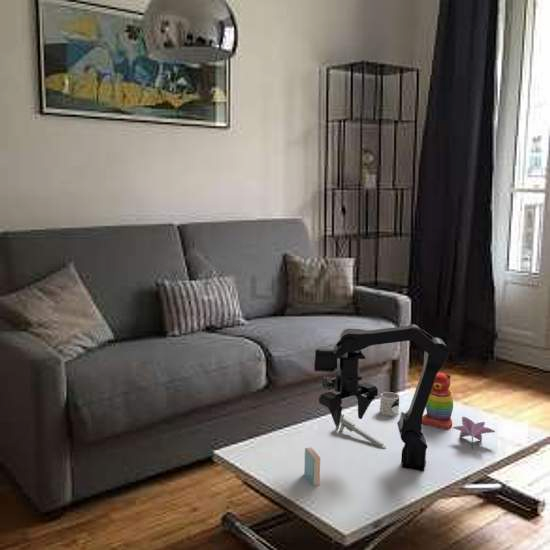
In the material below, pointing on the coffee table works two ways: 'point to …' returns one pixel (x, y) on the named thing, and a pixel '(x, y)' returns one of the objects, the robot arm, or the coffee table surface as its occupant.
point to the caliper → (358, 431)
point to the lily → (472, 429)
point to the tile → (312, 466)
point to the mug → (389, 404)
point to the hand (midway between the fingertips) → (348, 422)
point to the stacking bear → (439, 403)
